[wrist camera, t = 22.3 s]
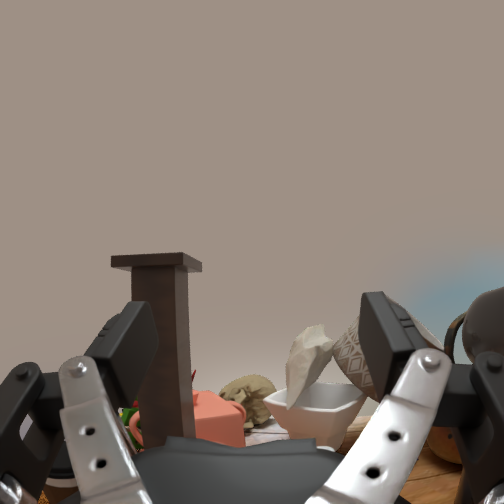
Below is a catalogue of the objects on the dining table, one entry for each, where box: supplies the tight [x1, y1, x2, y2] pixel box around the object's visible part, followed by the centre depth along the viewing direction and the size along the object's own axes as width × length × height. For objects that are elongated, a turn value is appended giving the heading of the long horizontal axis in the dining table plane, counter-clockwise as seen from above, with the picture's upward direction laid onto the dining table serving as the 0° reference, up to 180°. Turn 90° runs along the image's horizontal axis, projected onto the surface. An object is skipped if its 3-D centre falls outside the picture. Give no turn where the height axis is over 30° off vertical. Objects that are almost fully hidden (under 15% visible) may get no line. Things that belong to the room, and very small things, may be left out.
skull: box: [219, 375, 277, 429], centre depth 81 cm, size 14×17×20 cm
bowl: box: [263, 382, 368, 452], centre depth 61 cm, size 19×19×14 cm
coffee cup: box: [43, 441, 79, 504], centre depth 32 cm, size 11×11×12 cm
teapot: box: [129, 389, 246, 452], centre depth 50 cm, size 25×23×18 cm
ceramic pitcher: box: [427, 311, 473, 464], centre depth 45 cm, size 20×20×30 cm
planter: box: [333, 295, 444, 402], centre depth 60 cm, size 19×19×16 cm
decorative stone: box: [286, 324, 333, 410], centre depth 64 cm, size 23×9×15 cm, turn 165°
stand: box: [111, 252, 202, 450], centre depth 32 cm, size 8×8×39 cm
